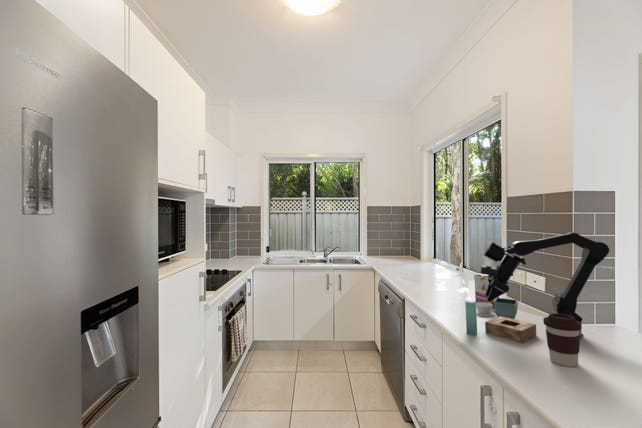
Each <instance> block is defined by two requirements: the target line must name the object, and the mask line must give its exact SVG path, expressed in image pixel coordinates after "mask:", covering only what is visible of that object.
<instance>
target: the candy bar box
mask: <svg viewBox="0 0 642 428" xmlns="http://www.w3.org/2000/svg"><path fill="white" fill-rule="evenodd" d="M473 276H474V292H475V293H474V294H475V296H474V297H475V298H474V299H475V302H476V303H479V302H484V303H490V304H492V305H493V306H492V309H495V306H494V301H495V300H496V298H495V299H493V300H492V301H490V302H489V301H487V299H488V296H486V295H485V294H486V291H487V288H488V285H489V281H488V279H487V278H488V275H487V274H481V272H480V273H479V272H478V273H474V275H473ZM489 279H490V278H489ZM497 298H500V296H499V297H497Z"/></svg>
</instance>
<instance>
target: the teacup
mask: <svg viewBox="0 0 642 428" xmlns="http://www.w3.org/2000/svg"><path fill="white" fill-rule="evenodd" d="M492 306H493V305H492V304H490V303H484V302H479V303H476V315H478V316H484V317H493V316H497V315H496V312H495V311H493V308H492Z"/></svg>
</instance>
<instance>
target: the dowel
mask: <svg viewBox="0 0 642 428" xmlns="http://www.w3.org/2000/svg"><path fill="white" fill-rule="evenodd" d="M464 305H465V326H466V334H467V335H469V336H478V321H477V319H478V318H477V315H478V314H476V310H477V308H476V301H473V300H466V301H465V303H464Z"/></svg>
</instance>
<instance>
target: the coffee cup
mask: <svg viewBox="0 0 642 428" xmlns="http://www.w3.org/2000/svg"><path fill="white" fill-rule="evenodd" d="M543 325H545V328H546V329H545V335H546V342H547V348H548V352H549V353H548V354H549V359H550V361H551V362H553V364H557V365H559V366H563V367H569V368H570V367H571V368H574V367H578V365H579V353H580V346H581V345H580V344H581V338H580V334H579V330H581V331H582V330H583V329H582V327H583V326H582V325H583V324H582V322H581V323H580V322H578V321H576V319H575V318H574V317H573V316H570V315H566V314H559V313H557V312H555V313H553V312H552V313H549V315H548V316H546V317H545V316H544V318H543Z"/></svg>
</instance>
